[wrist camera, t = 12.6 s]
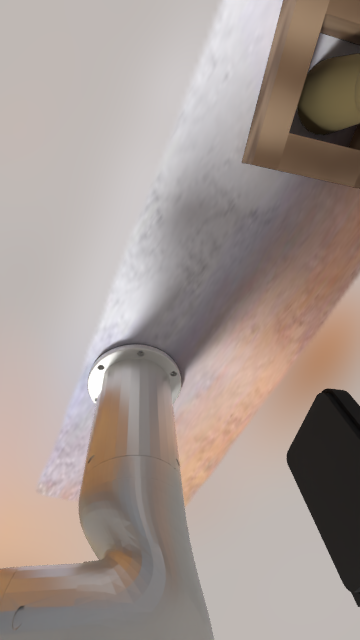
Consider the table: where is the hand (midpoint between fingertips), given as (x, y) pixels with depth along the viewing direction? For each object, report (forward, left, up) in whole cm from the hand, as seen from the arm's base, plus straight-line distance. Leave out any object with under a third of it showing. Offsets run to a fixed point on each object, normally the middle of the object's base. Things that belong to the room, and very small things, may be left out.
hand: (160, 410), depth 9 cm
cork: (+14, -15, -28) cm, 35 cm away
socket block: (+14, -15, -28) cm, 35 cm away
